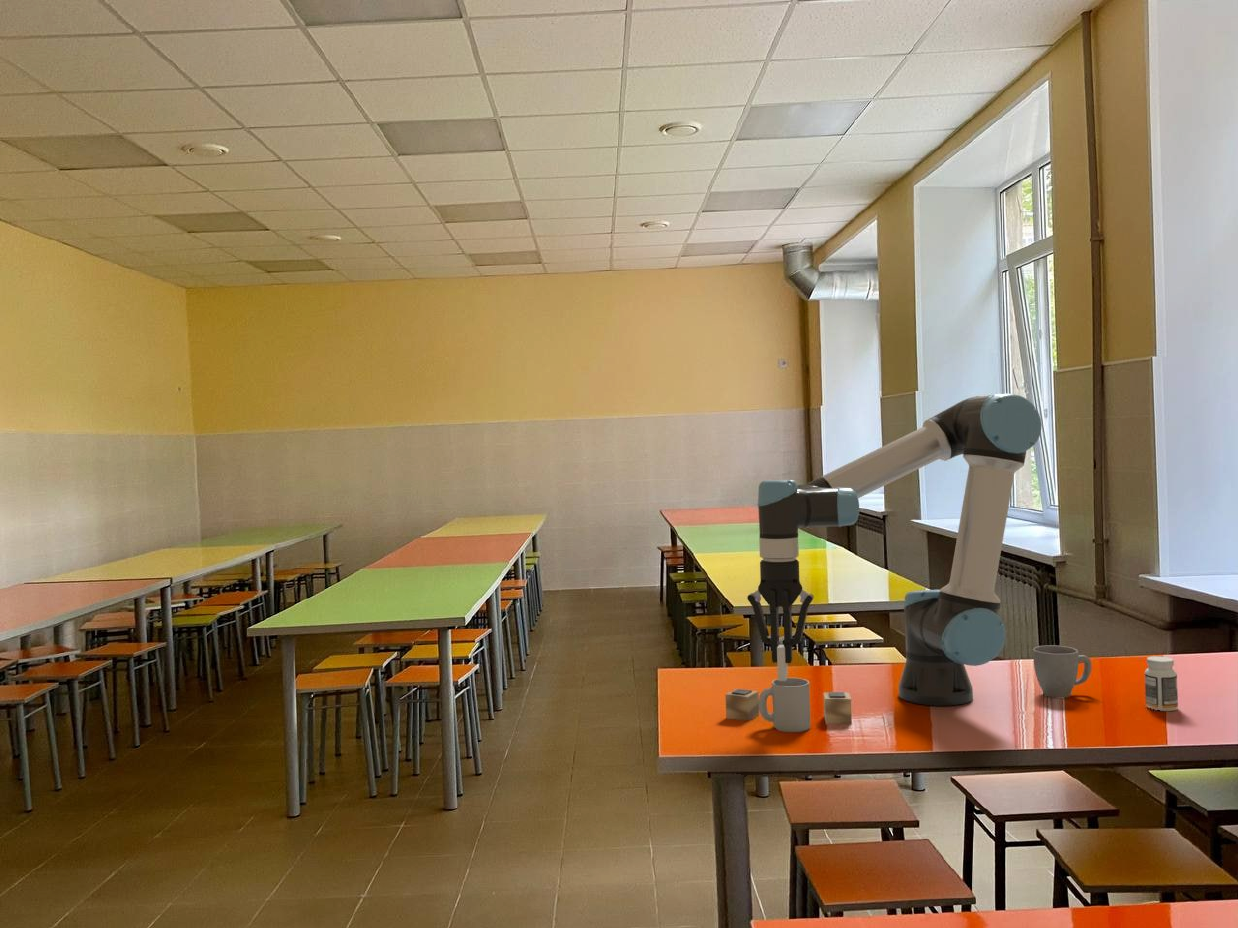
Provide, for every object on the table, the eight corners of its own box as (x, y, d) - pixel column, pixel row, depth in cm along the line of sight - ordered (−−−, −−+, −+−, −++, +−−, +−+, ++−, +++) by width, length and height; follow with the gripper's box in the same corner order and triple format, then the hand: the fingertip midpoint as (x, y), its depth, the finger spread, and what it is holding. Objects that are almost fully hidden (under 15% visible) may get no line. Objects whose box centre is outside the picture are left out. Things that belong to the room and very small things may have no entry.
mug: (1046, 701, 205) (1045, 655, 205) (1026, 690, 214) (1025, 646, 214) (1102, 698, 206) (1101, 652, 206) (1080, 687, 215) (1079, 643, 214)
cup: (813, 732, 190) (811, 686, 189) (760, 733, 190) (759, 687, 190) (808, 722, 197) (806, 677, 197) (757, 722, 197) (756, 678, 197)
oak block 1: (759, 715, 203) (758, 689, 203) (748, 721, 199) (747, 695, 199) (737, 712, 206) (736, 687, 205) (726, 718, 201) (725, 692, 201)
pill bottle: (1176, 705, 198) (1175, 656, 198) (1179, 713, 193) (1178, 662, 193) (1144, 703, 201) (1143, 655, 201) (1146, 710, 196) (1145, 661, 195)
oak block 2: (849, 717, 199) (848, 691, 199) (851, 724, 194) (850, 697, 194) (824, 717, 200) (823, 691, 200) (825, 724, 195) (825, 697, 195)
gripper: (815, 556, 194) (818, 676, 195) (749, 556, 198) (753, 673, 199) (810, 561, 187) (814, 685, 188) (742, 561, 191) (746, 682, 192)
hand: (782, 679), depth 193 cm, fingers closed
